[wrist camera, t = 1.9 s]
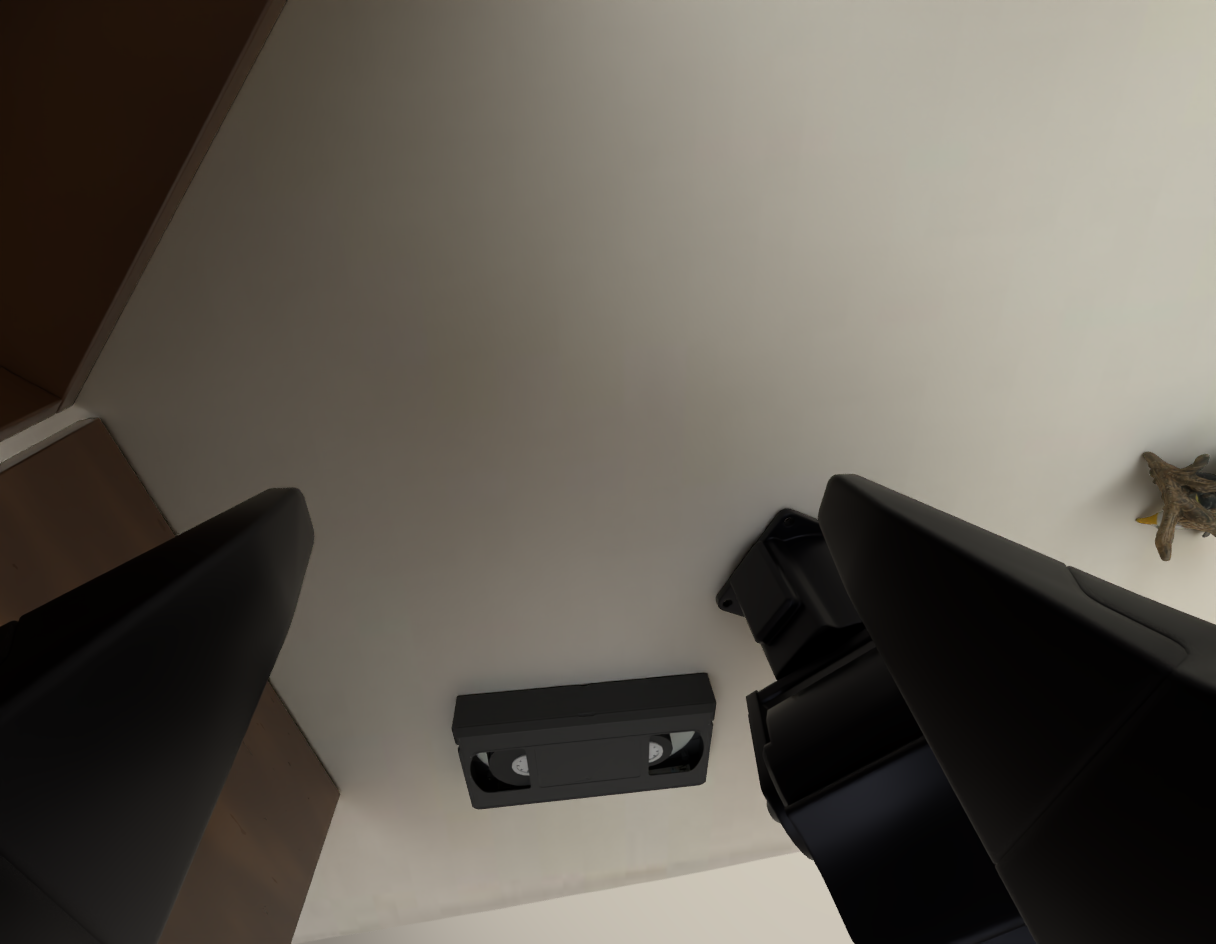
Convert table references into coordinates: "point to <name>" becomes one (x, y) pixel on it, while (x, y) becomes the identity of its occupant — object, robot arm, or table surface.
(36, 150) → the cupboard
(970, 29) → the table surface
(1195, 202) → the table surface
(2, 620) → the cupboard door
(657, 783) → the vhs tape
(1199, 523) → the eagle figurine
